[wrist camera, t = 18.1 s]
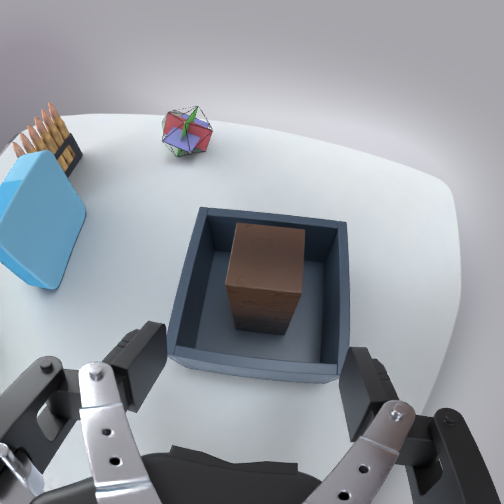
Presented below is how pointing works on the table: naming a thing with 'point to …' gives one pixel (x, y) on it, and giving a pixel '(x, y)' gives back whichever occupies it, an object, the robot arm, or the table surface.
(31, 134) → the ammunition clip
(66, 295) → the table surface
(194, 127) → the geometric puzzle
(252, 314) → the block
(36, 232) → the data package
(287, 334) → the bin
